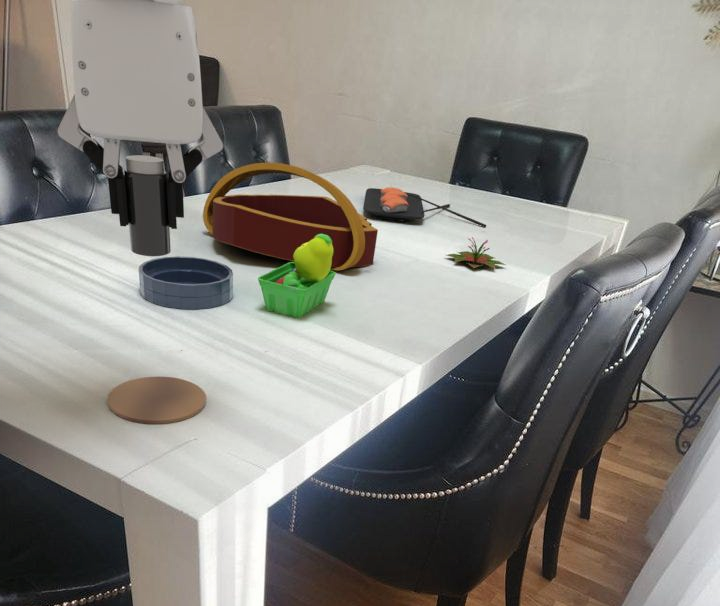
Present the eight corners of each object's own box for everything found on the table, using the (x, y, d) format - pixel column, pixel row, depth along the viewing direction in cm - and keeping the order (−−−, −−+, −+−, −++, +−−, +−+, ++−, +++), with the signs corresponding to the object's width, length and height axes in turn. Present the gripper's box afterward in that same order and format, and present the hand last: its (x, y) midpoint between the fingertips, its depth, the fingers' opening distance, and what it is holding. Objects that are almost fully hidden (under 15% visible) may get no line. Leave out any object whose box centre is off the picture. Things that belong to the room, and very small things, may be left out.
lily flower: (472, 274, 122) (477, 250, 119) (432, 256, 129) (436, 232, 127) (517, 270, 128) (523, 246, 125) (476, 252, 135) (481, 230, 133)
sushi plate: (365, 194, 173) (367, 179, 171) (476, 209, 174) (479, 193, 172) (361, 218, 149) (363, 201, 147) (490, 235, 150) (493, 218, 148)
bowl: (139, 312, 88) (137, 283, 86) (142, 281, 98) (140, 254, 96) (236, 314, 92) (236, 286, 89) (228, 284, 102) (228, 258, 100)
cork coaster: (104, 425, 64) (104, 421, 63) (110, 379, 71) (110, 376, 71) (208, 422, 66) (208, 419, 66) (203, 379, 74) (203, 376, 74)
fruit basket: (290, 292, 102) (294, 217, 95) (341, 305, 99) (349, 229, 93) (254, 313, 93) (256, 232, 86) (310, 328, 90) (316, 245, 84)
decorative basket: (396, 273, 124) (413, 189, 118) (307, 279, 101) (321, 175, 94) (260, 234, 138) (269, 157, 132) (155, 232, 115) (158, 139, 108)
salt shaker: (130, 255, 60) (122, 160, 55) (131, 244, 63) (123, 153, 58) (170, 257, 61) (166, 164, 56) (170, 246, 63) (165, 156, 59)
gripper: (236, -7, 55) (235, 219, 65) (21, -38, 51) (57, 209, 61) (245, -9, 49) (243, 239, 59) (3, -45, 45) (46, 230, 55)
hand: (148, 221), depth 60 cm, fingers closed on salt shaker, 3 cm apart
